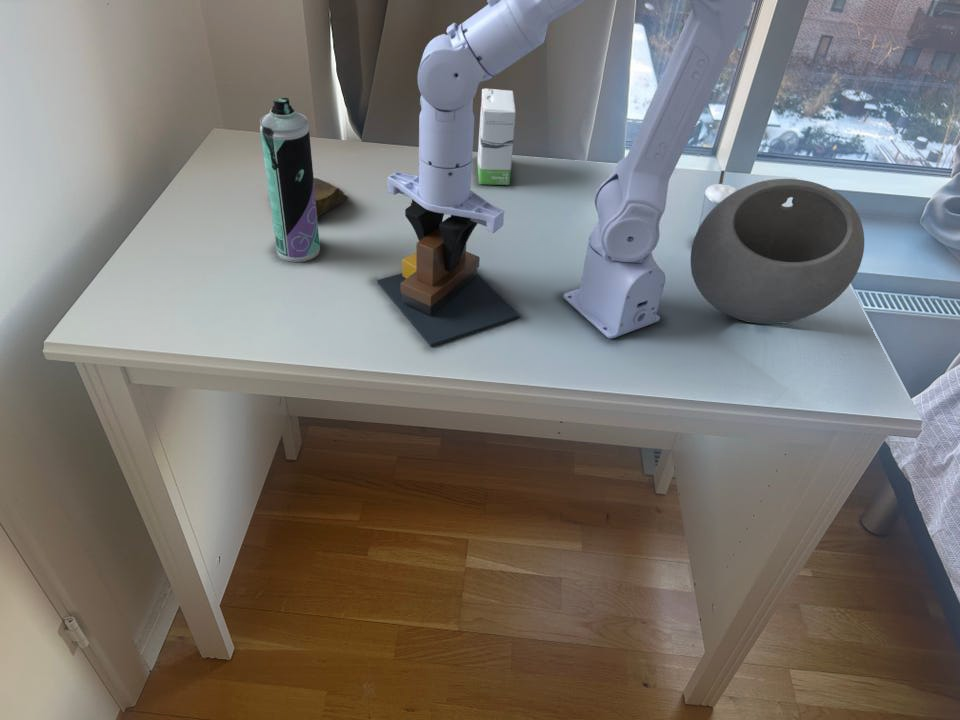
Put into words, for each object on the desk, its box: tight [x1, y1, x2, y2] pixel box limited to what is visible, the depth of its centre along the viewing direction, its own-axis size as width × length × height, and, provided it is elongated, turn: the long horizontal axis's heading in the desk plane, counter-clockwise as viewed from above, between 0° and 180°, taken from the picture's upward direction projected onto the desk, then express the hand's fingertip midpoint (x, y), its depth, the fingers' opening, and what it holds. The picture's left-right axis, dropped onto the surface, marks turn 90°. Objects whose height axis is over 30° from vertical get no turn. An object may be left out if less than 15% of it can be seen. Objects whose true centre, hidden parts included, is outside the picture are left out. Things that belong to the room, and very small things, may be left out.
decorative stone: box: [313, 177, 349, 218], centre depth 105 cm, size 10×9×4 cm
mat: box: [376, 272, 520, 348], centre depth 90 cm, size 14×12×1 cm
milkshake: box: [697, 170, 739, 230], centre depth 101 cm, size 4×5×10 cm
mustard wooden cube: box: [401, 252, 416, 279], centre depth 92 cm, size 3×3×2 cm
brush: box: [401, 227, 481, 315], centre depth 88 cm, size 10×4×8 cm, turn 148°
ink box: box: [476, 88, 517, 186], centre depth 113 cm, size 9×5×12 cm, turn 2°
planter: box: [690, 178, 865, 325], centre depth 85 cm, size 18×7×19 cm, turn 78°
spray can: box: [259, 97, 321, 263], centre depth 90 cm, size 6×6×20 cm
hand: (442, 263), depth 88 cm, fingers closed on brush, 2 cm apart
